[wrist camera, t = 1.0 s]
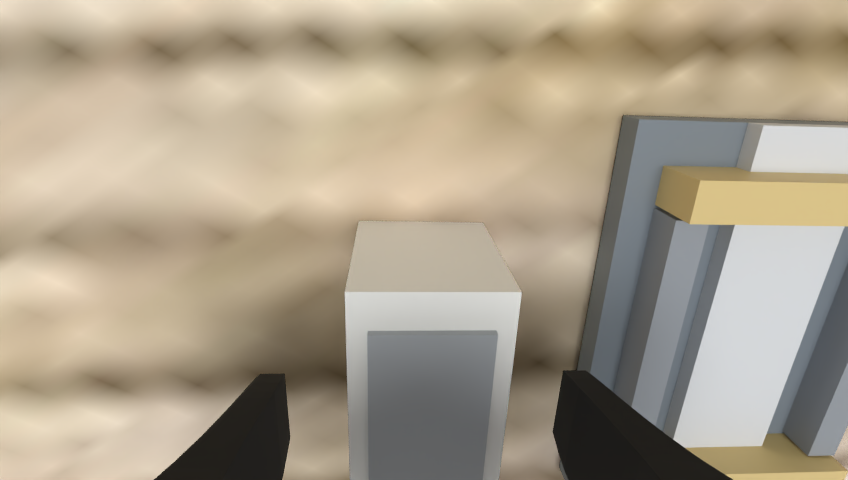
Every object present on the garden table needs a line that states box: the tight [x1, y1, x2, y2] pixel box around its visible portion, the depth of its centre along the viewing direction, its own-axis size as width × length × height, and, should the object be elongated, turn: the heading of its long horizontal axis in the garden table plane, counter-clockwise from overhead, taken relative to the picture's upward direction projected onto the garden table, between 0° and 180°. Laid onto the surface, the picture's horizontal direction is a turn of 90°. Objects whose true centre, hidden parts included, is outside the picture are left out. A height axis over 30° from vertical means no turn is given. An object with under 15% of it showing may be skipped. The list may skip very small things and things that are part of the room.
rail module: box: [345, 221, 522, 480], centre depth 14 cm, size 7×4×5 cm, turn 178°
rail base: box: [559, 115, 848, 480], centre depth 16 cm, size 14×10×3 cm
